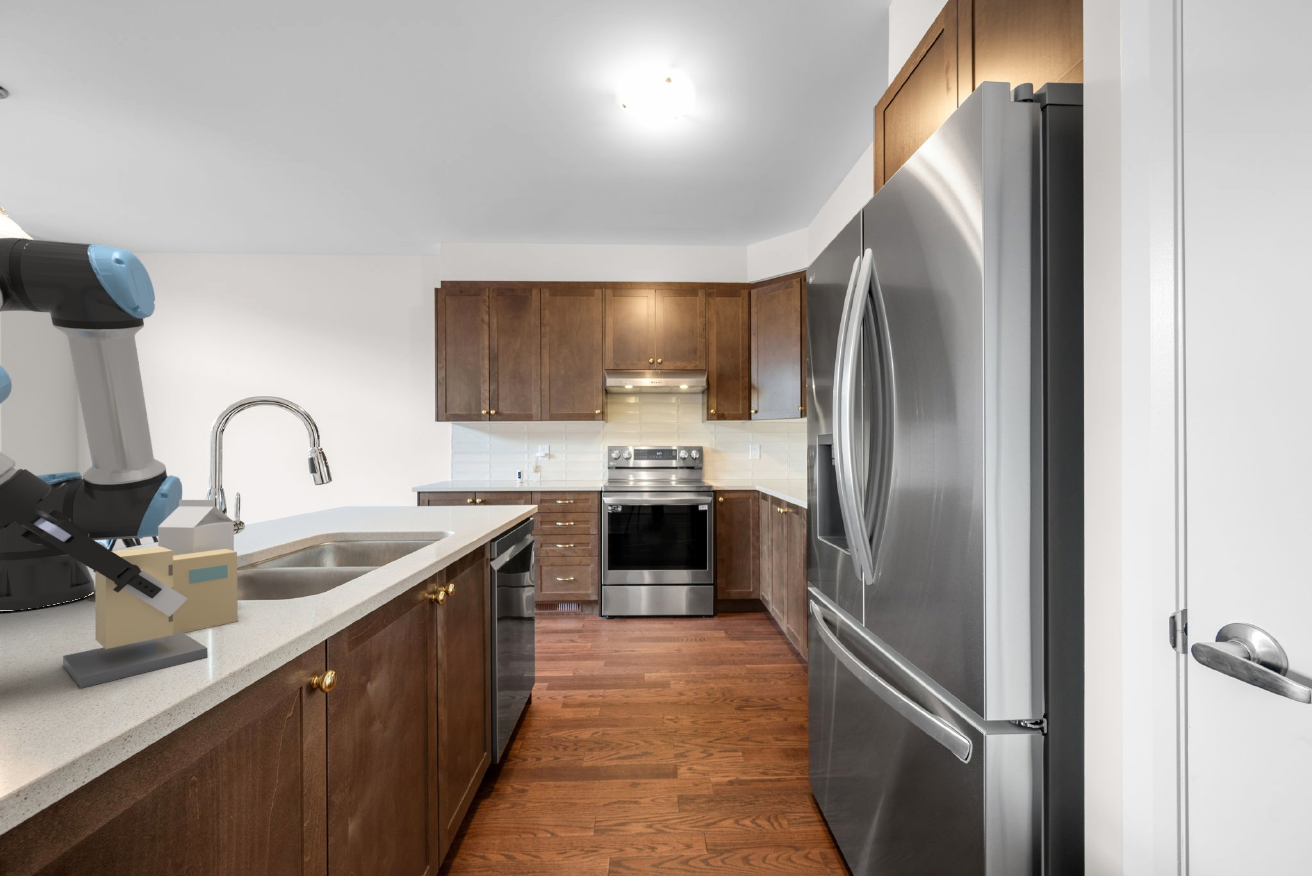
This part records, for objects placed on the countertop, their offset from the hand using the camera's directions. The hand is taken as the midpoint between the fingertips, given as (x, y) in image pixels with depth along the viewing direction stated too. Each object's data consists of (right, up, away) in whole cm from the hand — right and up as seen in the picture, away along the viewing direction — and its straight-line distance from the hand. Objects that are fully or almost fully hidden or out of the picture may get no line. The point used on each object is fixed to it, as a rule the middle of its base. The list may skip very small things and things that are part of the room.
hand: (170, 603), depth 79 cm
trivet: (-2, -7, -3) cm, 8 cm away
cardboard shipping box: (-6, -7, +12) cm, 15 cm away
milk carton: (-11, -7, +19) cm, 23 cm away
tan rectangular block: (-2, -4, -3) cm, 5 cm away
